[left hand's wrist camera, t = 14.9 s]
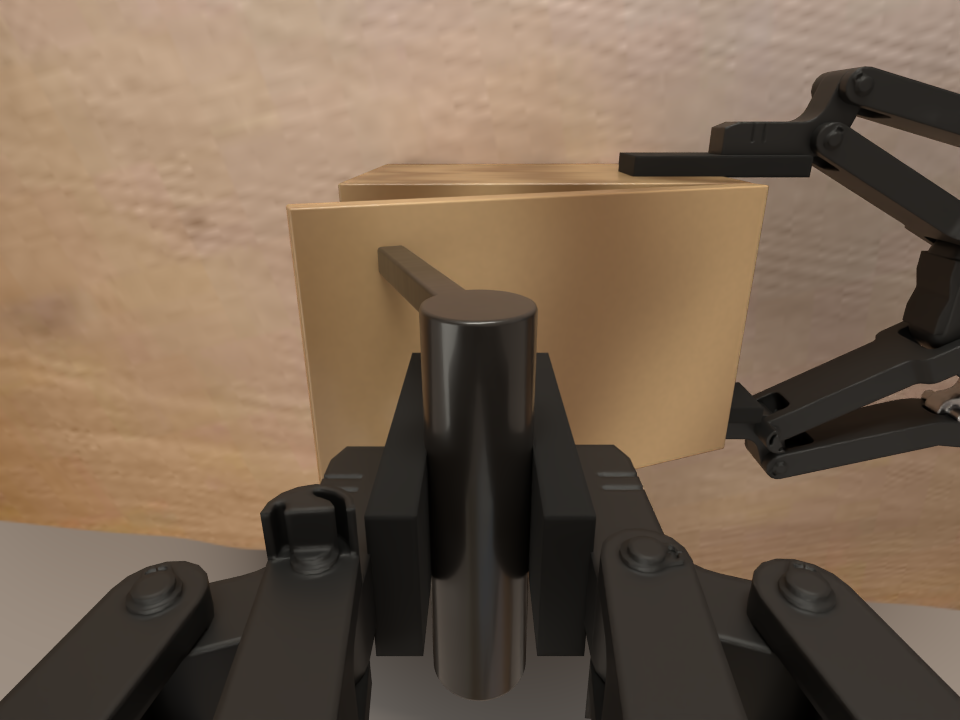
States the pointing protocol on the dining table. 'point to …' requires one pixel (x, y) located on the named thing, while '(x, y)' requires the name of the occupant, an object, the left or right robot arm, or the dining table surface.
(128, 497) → the dining table surface
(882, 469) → the dining table surface
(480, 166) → the chest
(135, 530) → the dining table surface
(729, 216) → the lid
